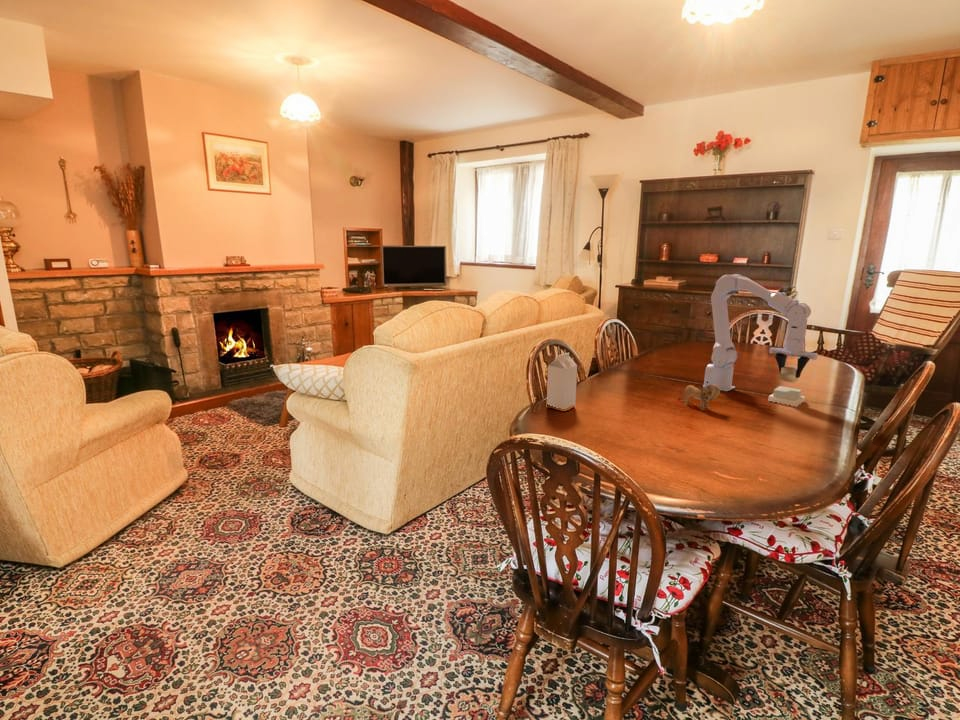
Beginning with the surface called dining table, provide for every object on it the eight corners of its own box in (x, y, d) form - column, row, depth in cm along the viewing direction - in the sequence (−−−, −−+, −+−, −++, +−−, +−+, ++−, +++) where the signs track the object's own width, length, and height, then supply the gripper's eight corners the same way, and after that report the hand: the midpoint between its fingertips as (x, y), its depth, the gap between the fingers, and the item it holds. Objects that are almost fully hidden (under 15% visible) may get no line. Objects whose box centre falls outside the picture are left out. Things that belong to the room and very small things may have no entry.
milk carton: (546, 408, 169) (548, 354, 165) (558, 403, 174) (560, 350, 170) (563, 413, 164) (566, 357, 160) (575, 408, 169) (578, 353, 165)
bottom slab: (767, 402, 178) (768, 396, 178) (776, 397, 184) (777, 391, 183) (795, 408, 172) (797, 401, 171) (804, 403, 178) (805, 396, 177)
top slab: (773, 396, 177) (774, 389, 177) (778, 392, 182) (779, 386, 181) (795, 400, 172) (796, 393, 172) (800, 396, 177) (801, 389, 177)
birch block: (779, 380, 176) (781, 367, 175) (783, 377, 179) (785, 365, 178) (793, 382, 173) (795, 370, 172) (797, 380, 176) (799, 368, 175)
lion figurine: (720, 410, 168) (723, 384, 166) (712, 413, 165) (715, 387, 163) (681, 399, 179) (683, 375, 177) (672, 402, 176) (675, 377, 174)
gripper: (768, 336, 175) (763, 374, 178) (815, 342, 165) (809, 382, 168) (775, 334, 180) (770, 370, 183) (821, 340, 169) (815, 378, 172)
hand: (789, 376), depth 176 cm, fingers closed on birch block, 4 cm apart
